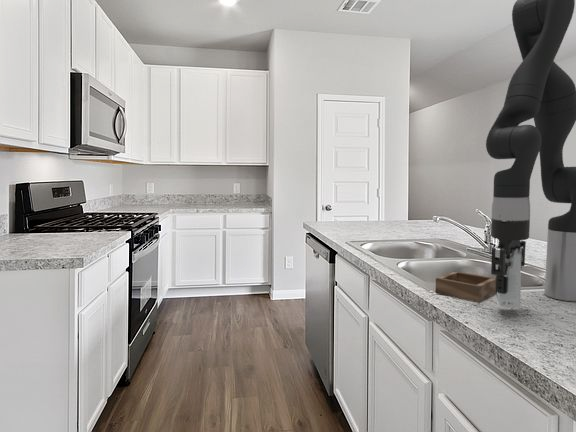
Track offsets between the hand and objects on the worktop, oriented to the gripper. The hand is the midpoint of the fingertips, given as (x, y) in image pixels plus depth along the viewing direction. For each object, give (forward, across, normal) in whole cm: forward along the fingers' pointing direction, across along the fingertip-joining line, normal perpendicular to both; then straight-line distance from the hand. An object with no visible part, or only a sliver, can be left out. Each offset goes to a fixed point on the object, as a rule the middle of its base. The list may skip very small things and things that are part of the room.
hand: (507, 289), depth 91 cm
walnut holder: (+6, -9, -13) cm, 17 cm away
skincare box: (+4, 0, 0) cm, 4 cm away
